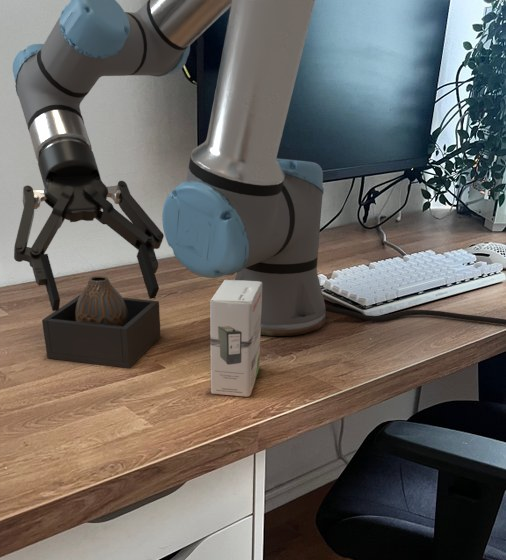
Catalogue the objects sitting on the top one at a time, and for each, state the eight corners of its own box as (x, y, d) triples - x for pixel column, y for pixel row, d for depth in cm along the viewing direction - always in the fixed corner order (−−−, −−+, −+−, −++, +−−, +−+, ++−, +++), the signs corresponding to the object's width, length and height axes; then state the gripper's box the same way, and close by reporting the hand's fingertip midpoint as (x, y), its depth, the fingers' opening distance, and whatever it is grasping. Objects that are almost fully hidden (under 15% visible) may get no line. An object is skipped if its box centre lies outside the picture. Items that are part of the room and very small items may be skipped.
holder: (160, 337, 98) (159, 301, 95) (129, 368, 88) (126, 329, 86) (85, 328, 100) (81, 293, 98) (46, 358, 91) (41, 319, 88)
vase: (140, 340, 95) (136, 277, 90) (103, 355, 90) (97, 289, 85) (104, 329, 98) (99, 268, 94) (67, 343, 93) (60, 279, 89)
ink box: (223, 366, 89) (223, 277, 84) (260, 369, 89) (263, 279, 83) (209, 394, 82) (208, 298, 76) (250, 398, 82) (252, 301, 76)
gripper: (146, 171, 101) (187, 302, 97) (-30, 179, 91) (8, 325, 87) (156, 135, 94) (201, 274, 90) (-32, 140, 85) (9, 296, 80)
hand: (106, 299), depth 89 cm, fingers open, 12 cm apart
